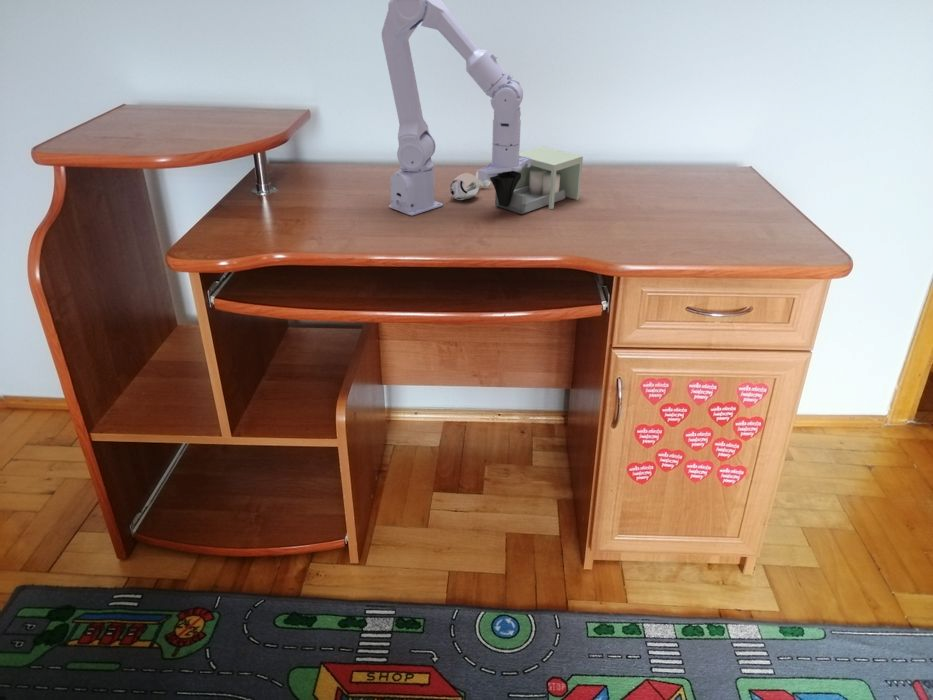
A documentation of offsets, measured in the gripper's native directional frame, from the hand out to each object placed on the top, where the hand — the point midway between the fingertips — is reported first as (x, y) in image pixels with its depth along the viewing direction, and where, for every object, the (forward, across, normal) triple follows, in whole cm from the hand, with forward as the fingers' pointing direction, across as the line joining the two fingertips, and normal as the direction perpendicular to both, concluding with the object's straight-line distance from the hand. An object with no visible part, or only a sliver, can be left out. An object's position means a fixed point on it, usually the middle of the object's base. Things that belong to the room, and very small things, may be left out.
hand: (504, 205), depth 153 cm
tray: (+2, +9, 0) cm, 9 cm away
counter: (+2, +14, 0) cm, 14 cm away
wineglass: (-1, +9, +15) cm, 18 cm away
